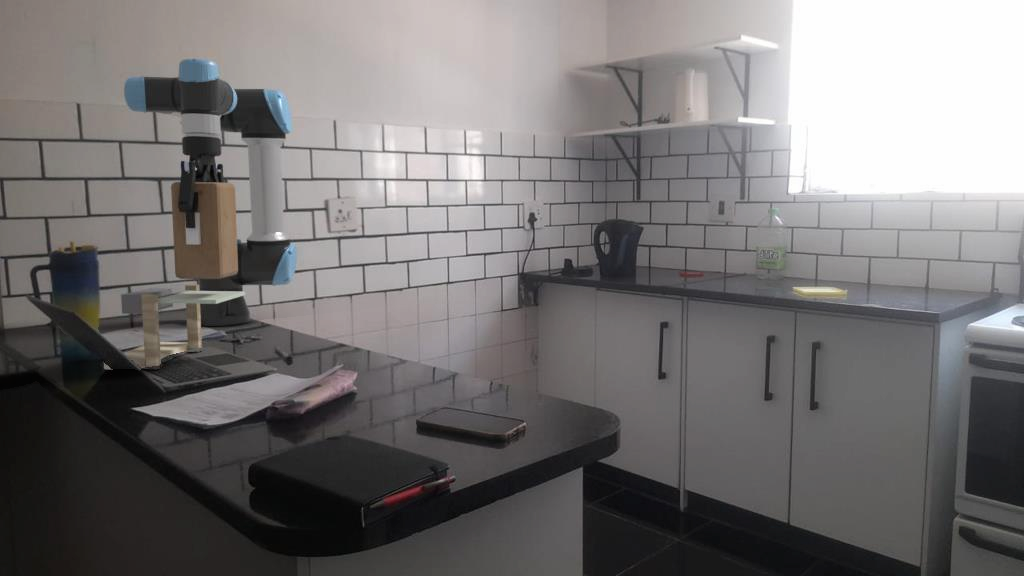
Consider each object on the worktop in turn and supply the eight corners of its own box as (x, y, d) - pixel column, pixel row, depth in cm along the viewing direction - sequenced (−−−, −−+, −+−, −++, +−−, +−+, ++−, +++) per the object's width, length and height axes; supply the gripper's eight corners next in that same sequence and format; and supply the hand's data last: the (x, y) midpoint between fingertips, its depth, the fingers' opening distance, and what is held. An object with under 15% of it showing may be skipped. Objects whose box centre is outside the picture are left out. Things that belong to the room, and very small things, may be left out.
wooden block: (221, 279, 151) (217, 182, 149) (173, 279, 151) (168, 181, 149) (240, 274, 161) (236, 183, 159) (195, 274, 161) (191, 182, 159)
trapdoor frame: (154, 350, 169) (151, 283, 167) (202, 351, 168) (199, 284, 166) (104, 369, 150) (99, 294, 148) (157, 370, 149) (153, 295, 148)
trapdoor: (154, 305, 165) (153, 287, 165) (245, 306, 164) (244, 288, 163) (117, 314, 151) (116, 295, 151) (216, 316, 150) (215, 297, 149)
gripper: (209, 140, 164) (213, 239, 167) (154, 131, 142) (160, 246, 144) (242, 140, 164) (245, 239, 166) (191, 131, 141) (197, 246, 144)
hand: (206, 242), depth 155 cm, fingers closed on wooden block, 10 cm apart
